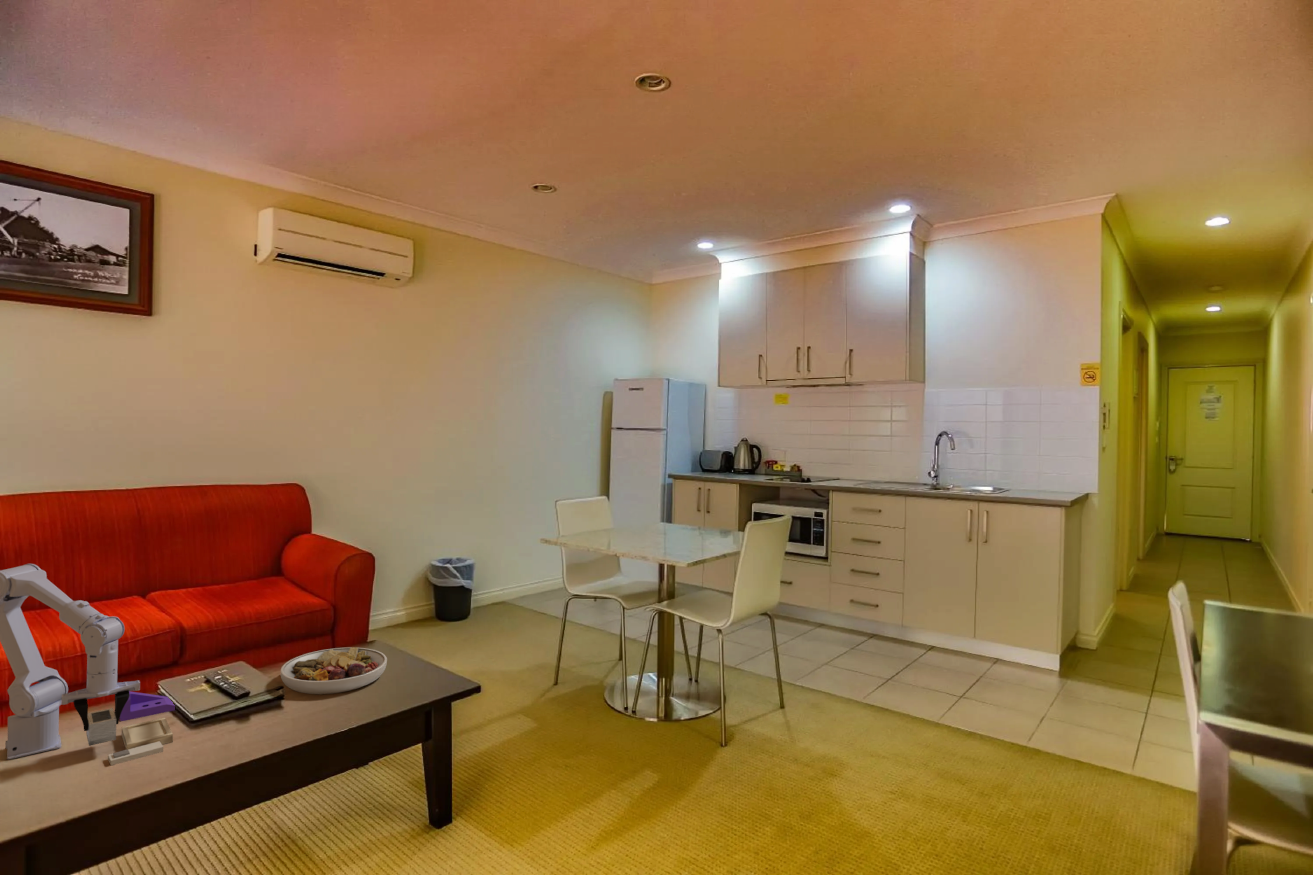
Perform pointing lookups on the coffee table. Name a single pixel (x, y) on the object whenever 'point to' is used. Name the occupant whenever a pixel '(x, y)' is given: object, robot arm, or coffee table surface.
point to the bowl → (333, 670)
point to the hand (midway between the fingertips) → (101, 725)
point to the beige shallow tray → (147, 733)
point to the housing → (101, 726)
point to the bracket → (145, 706)
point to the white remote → (135, 753)
